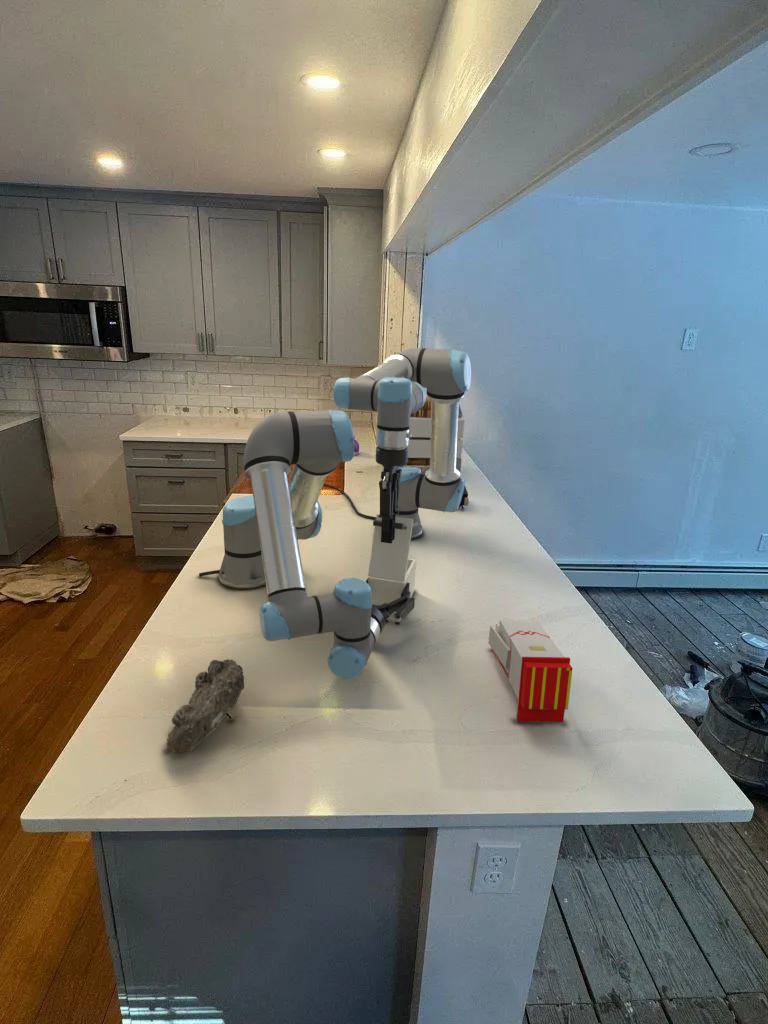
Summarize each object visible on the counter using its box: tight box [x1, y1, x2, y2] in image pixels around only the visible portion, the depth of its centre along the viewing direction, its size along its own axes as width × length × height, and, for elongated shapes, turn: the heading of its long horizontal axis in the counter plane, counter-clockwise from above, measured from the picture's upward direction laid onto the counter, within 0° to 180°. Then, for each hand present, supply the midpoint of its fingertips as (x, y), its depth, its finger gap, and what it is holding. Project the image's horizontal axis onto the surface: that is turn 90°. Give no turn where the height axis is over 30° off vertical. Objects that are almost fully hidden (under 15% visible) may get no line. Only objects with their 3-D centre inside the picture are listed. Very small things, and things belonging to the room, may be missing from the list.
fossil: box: [166, 658, 245, 754], centre depth 106 cm, size 22×10×15 cm
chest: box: [367, 557, 417, 615], centre depth 152 cm, size 15×10×10 cm, turn 166°
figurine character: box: [458, 485, 470, 511], centre depth 230 cm, size 7×8×15 cm
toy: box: [488, 619, 573, 723], centre depth 122 cm, size 12×13×30 cm
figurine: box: [352, 425, 360, 456], centre depth 302 cm, size 9×10×15 cm
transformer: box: [399, 396, 465, 475], centre depth 268 cm, size 34×33×41 cm
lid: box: [367, 514, 413, 581], centre depth 141 cm, size 16×10×8 cm
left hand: (388, 584), depth 147 cm, fingers closed on chest, 9 cm apart
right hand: (387, 540), depth 139 cm, fingers closed on lid, 1 cm apart
